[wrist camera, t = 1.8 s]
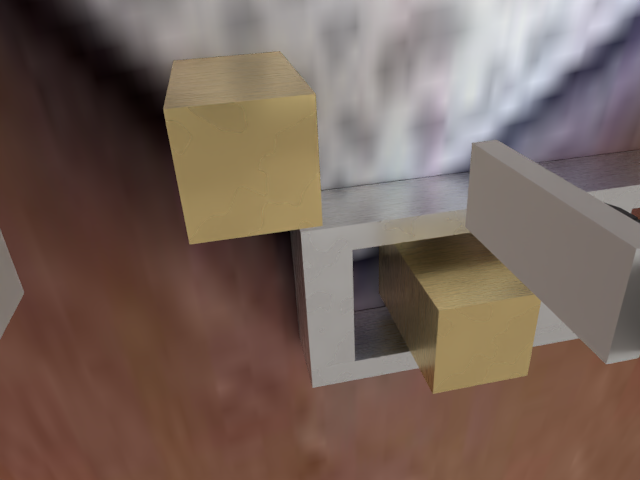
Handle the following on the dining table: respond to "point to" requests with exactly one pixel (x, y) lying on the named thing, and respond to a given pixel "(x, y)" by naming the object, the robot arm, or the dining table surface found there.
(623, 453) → the dining table surface
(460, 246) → the tan wooden brick
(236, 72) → the yellow rectangular block
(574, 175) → the rail
